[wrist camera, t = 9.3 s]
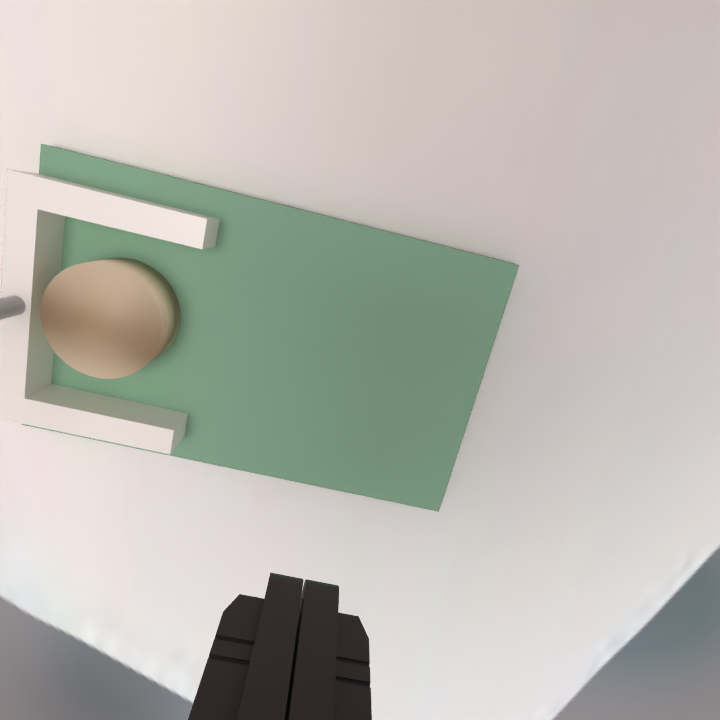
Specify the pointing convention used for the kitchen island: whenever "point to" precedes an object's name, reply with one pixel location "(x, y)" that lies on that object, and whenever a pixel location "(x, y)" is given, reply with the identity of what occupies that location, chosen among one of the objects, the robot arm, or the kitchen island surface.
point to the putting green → (302, 337)
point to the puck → (109, 316)
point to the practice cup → (25, 292)
